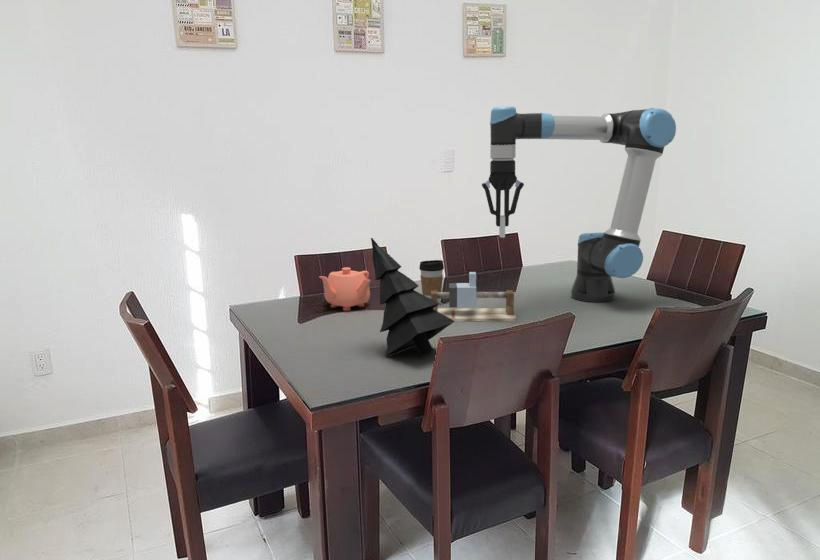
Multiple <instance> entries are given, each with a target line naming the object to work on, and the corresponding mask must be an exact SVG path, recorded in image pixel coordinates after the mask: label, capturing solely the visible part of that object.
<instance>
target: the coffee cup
mask: <svg viewBox="0 0 820 560" xmlns="http://www.w3.org/2000/svg"><path fill="white" fill-rule="evenodd" d="M418 268H419V270H420V283H421V284H420V285H421V294H422V295H424V296H426V297H428V298H430V299H431V291H437V292H442V289H443V288H442V287H443V278H444V274H443V270H444V269H445V266H444V260H442V259H436V260H435V259H433V260H422V261H420V263H419V267H418ZM441 300H442V298H438V303H440V304H438V306H439V305H441Z"/></svg>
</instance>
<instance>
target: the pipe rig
mask: <svg viewBox="0 0 820 560" xmlns="http://www.w3.org/2000/svg"><path fill="white" fill-rule="evenodd" d="M438 298H441V299H449V291H441V292H437V291H431V299H432V300H434V301H436V302H438ZM476 299H505V307H503V308H502V307H500V308H499V307H496V308H495V307H494V308H493V307H492V308H491V307H490V308H489V307H488V308H487V307H486V308H483V307H480V308H479V307H464V308H449V307H448V308H447V307H446V308H445V307H443V308H441V307H440V308H438V307H439V305H437V306H436V307H434V308H433V309H434V310H436V311H437V312H439V313H441V314H443V315H445V316H446V317H448V318H450V319H452V320H453V321H455V322H456V323H458V322H460V323H462V322H463V323H465V322H470V323H472V322H473V323H475V322H474V321H484V322H486V321H487V322H486V323H490V322H491V323H493V322H505V323H506V322H517V321H518V320H517V319H518V318H517V315H516V314H515V292H514V290H513V289H511V290H509V289H507V290H505V291H476ZM455 322H454V323H455ZM484 322H483V323H484Z"/></svg>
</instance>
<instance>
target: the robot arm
mask: <svg viewBox="0 0 820 560" xmlns="http://www.w3.org/2000/svg"><path fill="white" fill-rule="evenodd" d="M489 125H490V126H489V127H490V148H489V149H490V159H491V160H490V163H489V166H490V167H489V170H490V171H489V173H490V174H489V177H488V180H486V181H485V182H482V183H481V187H482V188H483V190H484V191H485V196H486V201H487V205H488V210H489V213H490V214H491V215H494V216H495V225H496V227H498V229H499V232H498V233H499V234H498V237H499V238H504V239H505V238H506V227H509V224H510V220H509V219H510V216H511V215H514V214H515V213H516V209H517V205H518V202H519V198H520V193H521V190H522V188H524V186H525V184H524V182H521V181H520V180H518V177H517V175H516V160H515V159H516V151H517V150H516V147H517V145H516V144H517V143H516V141H517V140H570V141H571V140H572V141H573V140H577V141H579V140H580V141H581V140H583V141H584V140H585V141H587V140H588V141H589V140H590V141H600V143H602V144H614V145H621V146H624V151H625V152H626V153H627V159H626V163H625V167H624V171H623V176H622V178H621V182H620V187H619V192H618V194H617V200H616V204H615V207H614V211H613V216H612V220H611V223H610V228H608V229H607V230H605V231H603V232H587V233H581V234H580V235H579V236H578V239H577V240H578V241H577V265H576V276H575V278H574V282H573V285H572V287H571V290H570V297H571V298H573V299H574V300H578V301H582V302H589V303H590V302H591V303H604V302H606V303H607V302H610V301H614V300H615V299H616V289H615V285H614V282H613V278H618V279H626V278H629V277H632V276H633V275H635V274H636V273H637V272H638V271H639V270H640V269H641V267H642V264H643V261H644V254H643V252H642V249H641V248H640V244H641V237H640V236H639V234H638V233H639V228H640V224H641V220H642V216H643V212H644V209H645V204H646V200H647V197H648V192H649V189H650V185H651V180H652V176H653V173H654V169H655V165H656V161H657V159H659V158H660V157H662V156H663V154H664V150H665V147H667V146H668V145H669V144H670V143H672V141H674V138H675V136H676V133H677V124H676V121H675V118H674V117H673V115H672V114H671V113H670V112H669V111H667V110H666V109H663V108H653V107H652V108H645V109H633V110H627V111H623V112H622V111H621V112H615V113H614V112H613V113H604V114H602V115H600V116H598V115H597V116H596V115H595V116H591V115H590V116H588V115H586V116H583V115H581V116H580V115H578V116H577V115H553V114H551V113H547V112H545V113H543V112H537V113H536V112H529V113H528V112H527V113H518V112H517V108H516V107H515V106H495V107H493V108H492V109H491V111H490V122H489ZM490 184H491V186H492V187H493V188H494V189H495V208H494V204H493V200H492V196H491V192H490V191H491V190H490V188H491V186H490ZM513 187H515V190H514V193H513V197H512V198H513V199H512V202H511V205H510V190H511V189H512V188H513ZM502 191H503V193H504V195H503V196H504V197H503V198H504V199H503V200H504V202H503V205H504V207H503V208H504V209H503V212H504V213H503V215H501V212H502V211H501V210H502V209H501V207H502V206H501V203H502V201H501V196H502V195H501V194H502ZM612 277H613V278H612Z"/></svg>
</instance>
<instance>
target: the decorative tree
mask: <svg viewBox="0 0 820 560" xmlns="http://www.w3.org/2000/svg"><path fill="white" fill-rule="evenodd" d="M370 240H371V248H372V262H373V266H374V276H375V281H379V305H384V304H385V307H384V311H383V318H382V324H381V328H380V331H379V333H382V332H386V331H388V333H387V336H386V351H385V355H384V357H388V356H392V355H395V354H398V353H401V352H403V351H406V350H408V349H412V348H415V347H416V349H417V351H418V354H419V355H420V357H424V356H426V355H428V354H430V353H431V352H434V349H433V346H432V345H431V343H430V340H431V339H433V338H434V337H436V336H437V335H438V334H440V333H441V332H442V331H443V330H445V329H446V328H447V327H449V326H450V325H453V323H455V321H453V320H452V319H450V318H448V317H446V316H445V315H443V314H441V313H439V312H437V311H436V310H434V309H433V308H434V307H436V306H437V305H438V304H440V305H441V302H440V303H438V302H436V301H434V300H432V299H430V298H428V297H426V296H424V295H423V294H422V293H420V292H418V291H416V289H417V288H419V284H418V283H416V282H415V281H414V280H413V279H412V278H410V277H408V276H407V275H406V274H404V273H402V271H399V270H400V269H401V268H402V266H401V264H400V263H398V261H396V259H394V258H393V257H392V256H391V255H390V254H389V253H388V252H386V251H385V250H384V249H383V248H382V247H381V246H379V245H378V243H377V241H375V240H374V238H373V237H371V238H370ZM438 306H439V305H438Z"/></svg>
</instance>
